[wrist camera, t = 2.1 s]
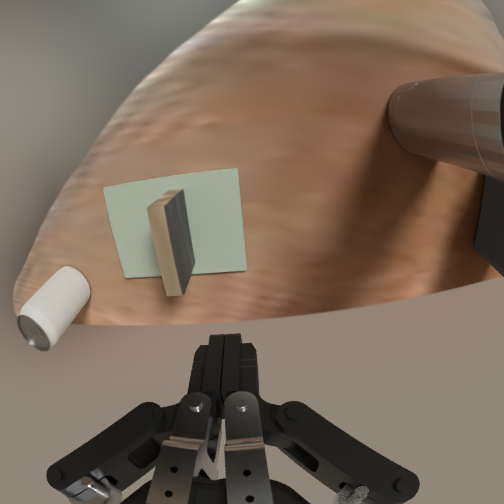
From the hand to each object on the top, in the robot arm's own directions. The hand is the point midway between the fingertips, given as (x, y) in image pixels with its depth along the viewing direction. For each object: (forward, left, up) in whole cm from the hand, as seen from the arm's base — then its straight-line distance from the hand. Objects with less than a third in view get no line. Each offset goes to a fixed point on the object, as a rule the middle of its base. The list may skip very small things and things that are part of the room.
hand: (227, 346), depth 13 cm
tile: (+6, 0, -19) cm, 20 cm away
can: (+25, +7, -20) cm, 33 cm away
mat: (+7, 0, -20) cm, 21 cm away
